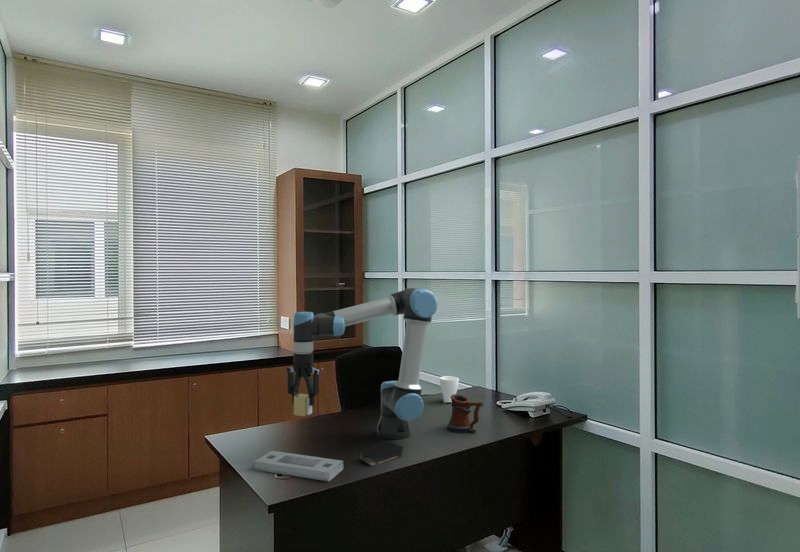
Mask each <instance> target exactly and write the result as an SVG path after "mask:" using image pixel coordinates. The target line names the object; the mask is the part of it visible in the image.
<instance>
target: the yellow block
mask: <svg viewBox="0 0 800 552" xmlns="http://www.w3.org/2000/svg"><path fill="white" fill-rule="evenodd" d="M308 396H309V395H308V393H307V394H306V393H298V394H297V396H294V404H293V415H294V416H298V417H307V416H308V415H307V397H308Z"/></svg>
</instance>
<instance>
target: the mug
mask: <svg viewBox="0 0 800 552" xmlns="http://www.w3.org/2000/svg"><path fill="white" fill-rule="evenodd" d="M451 401H452V403H451V404H450V405H451V408H452V409H451V410H452V411H451V416H450V419H449V422H448V423H447V429H448V430H449V431H450V432H454V433H458V434H459V433H464V434H465V433H469V432H470V433H476V432H477V429H475V427H474V425H476V424H478V422H479V418H480V416H479V410H480V408H481V407H483V406H484V403H483V402H482V401H480V402H470V399H469V398H468V397H467V396H465V395H463V394H458V393H456V394H453V395H452V396H451ZM471 407H475V408H474V410H473V420H472V421H471V420H470V416H469V414H470V413H471V411H472V408H471Z"/></svg>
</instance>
